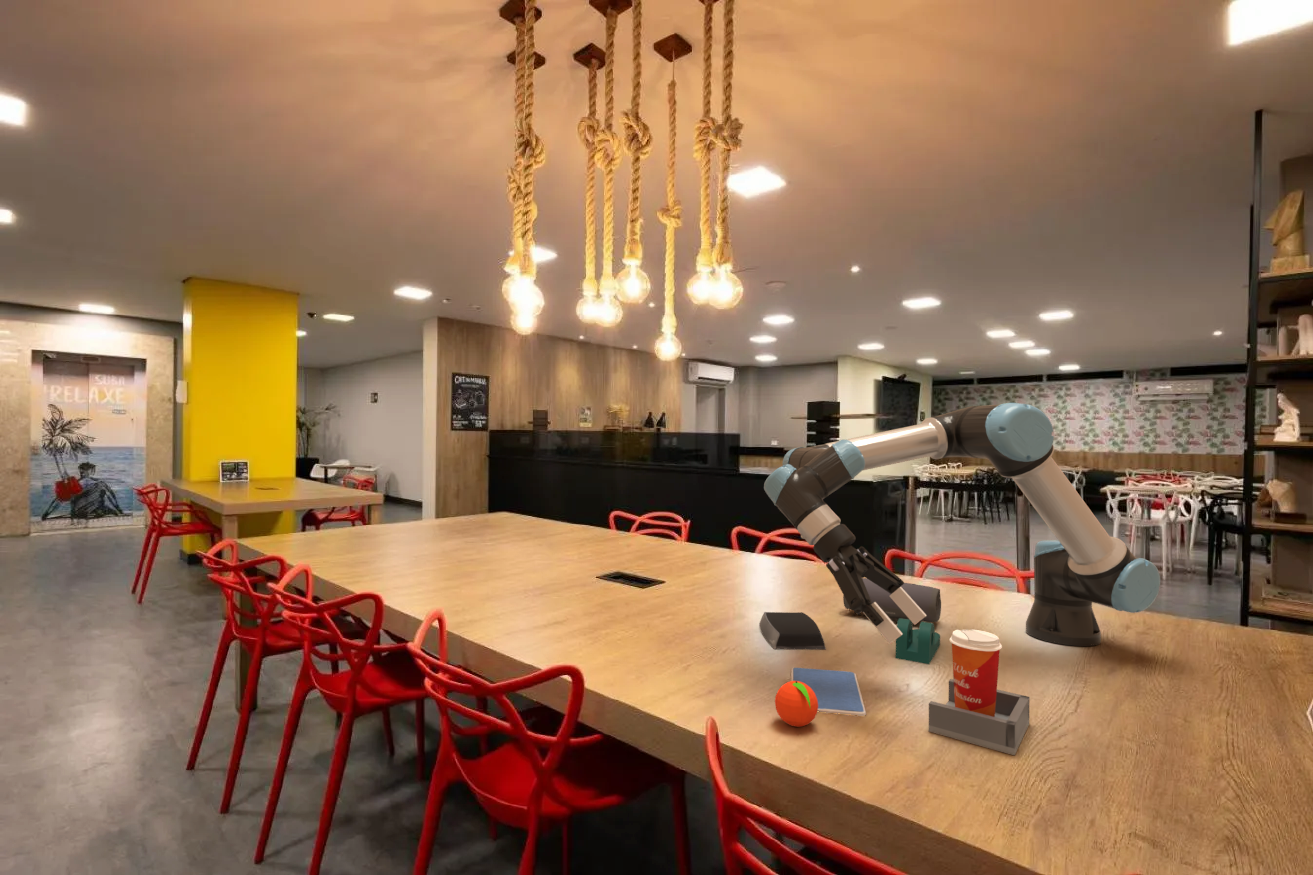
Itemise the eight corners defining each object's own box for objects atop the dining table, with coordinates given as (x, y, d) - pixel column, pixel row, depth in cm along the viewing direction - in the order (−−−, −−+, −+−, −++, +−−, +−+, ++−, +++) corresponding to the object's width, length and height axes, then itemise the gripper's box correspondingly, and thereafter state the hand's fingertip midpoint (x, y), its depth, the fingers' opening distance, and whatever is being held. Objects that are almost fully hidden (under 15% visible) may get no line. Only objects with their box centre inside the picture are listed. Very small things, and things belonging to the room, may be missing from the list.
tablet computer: (866, 720, 107) (866, 712, 107) (790, 713, 110) (790, 705, 110) (855, 678, 126) (855, 671, 126) (790, 672, 129) (790, 666, 129)
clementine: (829, 734, 101) (830, 689, 101) (790, 740, 99) (791, 694, 99) (804, 713, 109) (804, 671, 109) (767, 718, 107) (767, 675, 107)
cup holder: (1029, 723, 105) (1029, 696, 105) (1014, 755, 95) (1014, 725, 95) (950, 704, 113) (950, 678, 113) (928, 731, 102) (928, 703, 102)
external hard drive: (770, 651, 141) (770, 633, 141) (756, 625, 161) (756, 609, 161) (829, 651, 141) (829, 633, 141) (808, 626, 161) (808, 609, 161)
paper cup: (939, 710, 107) (940, 628, 107) (983, 709, 108) (983, 627, 108) (965, 732, 100) (966, 643, 100) (1012, 731, 100) (1013, 642, 100)
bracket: (929, 665, 133) (929, 627, 133) (895, 658, 136) (895, 622, 136) (942, 641, 148) (942, 608, 148) (911, 636, 151) (911, 603, 151)
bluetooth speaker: (941, 622, 163) (941, 583, 163) (935, 631, 155) (935, 590, 155) (852, 608, 175) (852, 572, 175) (842, 616, 168) (842, 578, 168)
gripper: (839, 538, 131) (915, 624, 122) (783, 557, 112) (868, 661, 103) (865, 515, 128) (944, 601, 119) (811, 529, 108) (901, 634, 99)
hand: (909, 629), depth 111 cm, fingers open, 13 cm apart
